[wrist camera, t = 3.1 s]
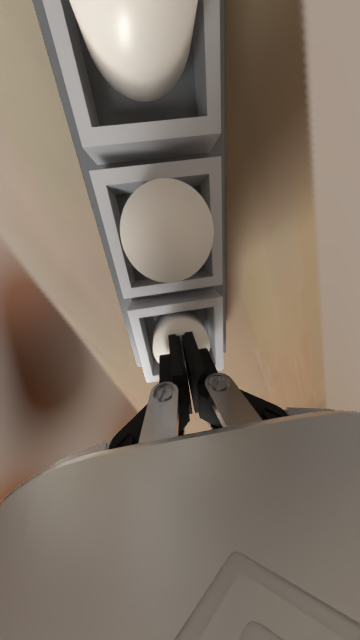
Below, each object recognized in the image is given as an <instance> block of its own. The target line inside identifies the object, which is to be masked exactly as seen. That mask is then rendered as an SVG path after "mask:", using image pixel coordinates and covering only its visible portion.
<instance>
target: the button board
mask: <svg viewBox="0 0 360 640" xmlns="http://www.w3.org/2000/svg"><path fill="white" fill-rule="evenodd" d="M32 1H33V4H34V7H35V11H36V14H37V18H38V21H39V25H40V28H41V32H42V35H43V39H44V42H45V46H46V49H47V53H48V56H49V60H50V63H51V67H52V70H53V74H54V77H55V81H56V84H57V88H58V91H59V95H60V98H61V102H62V105H63V108H64V112H65V115H66V119H67V122H68V126H69V129H70V133H71V136H72V140H73V143H74V147H75V150H76V154H77V157H78V161H79V164H80V168H81V171H82V175H83V178H84V182H85V185H86V189H87V192H88V196H89V199H90V203H91V206H92V209H93V213H94V216H95V220H96V223H97V227H98V230H99V234H100V237H101V241H102V244H103V248H104V251H105V255H106V258H107V262H108V265H109V269H110V272H111V276H112V279H113V283H114V286H115V290H116V293H117V297H118V300H119V303H120V307H121V310H122V314H123V317H124V321H125V324H126V328H127V331H128V335H129V338H130V342H131V345H132V349H133V352H134V356H135V359H136V363H137V366H138V367H141V366H142V368H143V371H144V375H145V379H146V382H147V383H150V382H156V381H159V363H158V362H157V361H156V359H155V357H154V354H153V333H154V328H155V325H156V323H157V322H158V321H159V319H160V318H162V317H163V316H164V315H166V314H169V313H176V312H182V311H187V312H190V313H192V314H194V315H195V316H197V317H198V318H199V319H200V321H201V323H202V325H203V327H204V328H205V330H206V332H207V334H208V337H209V339H210V351H209V354H210V356H211V358H212V360H213V363H214V365H215V367H216V369H217V371H221V370H223V353H226V251H225V0H198V4H197V10H196V16H195V22H194V28H193V34H192V40H191V46H190V52H189V56H188V60H187V63H186V66H185V69H184V71H183V73H182V75H181V77H180V79H179V80H178V82H177V83H176V85H175V86H174V87H173V88H172V89H171V90H170V91H169V92H168V93H167V94H166V95H164V96H163V97H161V98H159V99H156V100H154V101H148V102H141V101H136V100H133V99H130V98H128V97H126V96H124V95H122V94H121V93H119V92H118V91H117V90H115V89H114V88H113V87H112V86H111V85H110V84H109V83H108V82H107V81H106V79H105V78H104V77H103V76H102V74H101V73H100V71H99V70H98V68H97V67H96V65H95V63H94V61H93V59H92V58H91V55H90V53H89V51H88V49H87V46H86V43H85V41H84V38H83V35H82V33H81V30H80V28H79V25H78V22H77V20H76V17H75V14H74V12H73V9H72V6H71V4H70V1H69V0H32ZM159 178H171V179H176V180H180V181H182V182H184V183H186V184H188V185H190V186H191V187H193V188H194V189H195V190H196V191H197V192H198V193H199V194H200V195H201V196H202V198H203V199H204V201H205V202H206V204H207V206H208V208H209V210H210V213H211V216H212V220H213V227H214V238H213V244H212V248H211V251H210V254H209V256H208V258H207V260H206V262H205V263H204V264H203V266H202V267H201V268H200V269H199V270H198V271H197V272H196V273H195V274H193V275H192V276H190V277H189V278H187V279H185V280H182V281H178V282H173V283H163V282H158V281H155V280H152V279H150V278H148V277H146V276H144V275H143V274H141V273H140V272H139V271H138V270H137V269H136V268H135V267H134V266H133V265H132V263H131V262H130V261H129V259H128V257H127V256H126V254H125V251H124V249H123V246H122V243H121V237H120V220H121V215H122V212H123V209H124V206H125V204H126V202H127V200H128V199H129V197H130V196H131V195H132V193H133V192H134V191H135V190H136V189H138V188H139V187H140V186H141V185H143V184H145V183H146V182H149V181H151V180H154V179H159Z"/></svg>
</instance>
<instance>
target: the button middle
mask: <svg viewBox="0 0 360 640" xmlns="http://www.w3.org/2000/svg"><path fill="white" fill-rule="evenodd" d="M120 237H121V243H122V246H123V249H124V251H125V254H126V256H127V257H128V259H129V261H130V262H131V263H132V265H133V266H134V267H135V268H136V269H137V270H138V271H139V272H140V273H141V274H143V275H144V276H146V277H148V278H150V279H152V280H155V281H158V282H163V283H173V282H178V281H182V280H185V279H187V278H189V277H190V276H192V275H193V274H195V273H196V272H197V271H198V270H199V269H200V268H201V267H202V266H203V264H204V263H205V262H206V260H207V258H208V256H209V254H210V251H211V248H212V244H213V238H214V227H213V220H212V216H211V213H210V210H209V208H208V206H207V204H206V202H205V201H204V199H203V198H202V196H201V195H200V194H199V193H198V192H197V191H196V190H195V189H194V188H193V187H191V186H190V185H188V184H186V183H184V182H182V181H180V180H176V179H171V178H159V179H154V180H151V181H149V182H146V183H145V184H143V185H141V186H140V187H139V188H138V189H136V190H135V191H134V192H133V193H132V195H131V196H130V197H129V199H128V200H127V202H126V204H125V206H124V209H123V212H122V215H121V220H120Z"/></svg>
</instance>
